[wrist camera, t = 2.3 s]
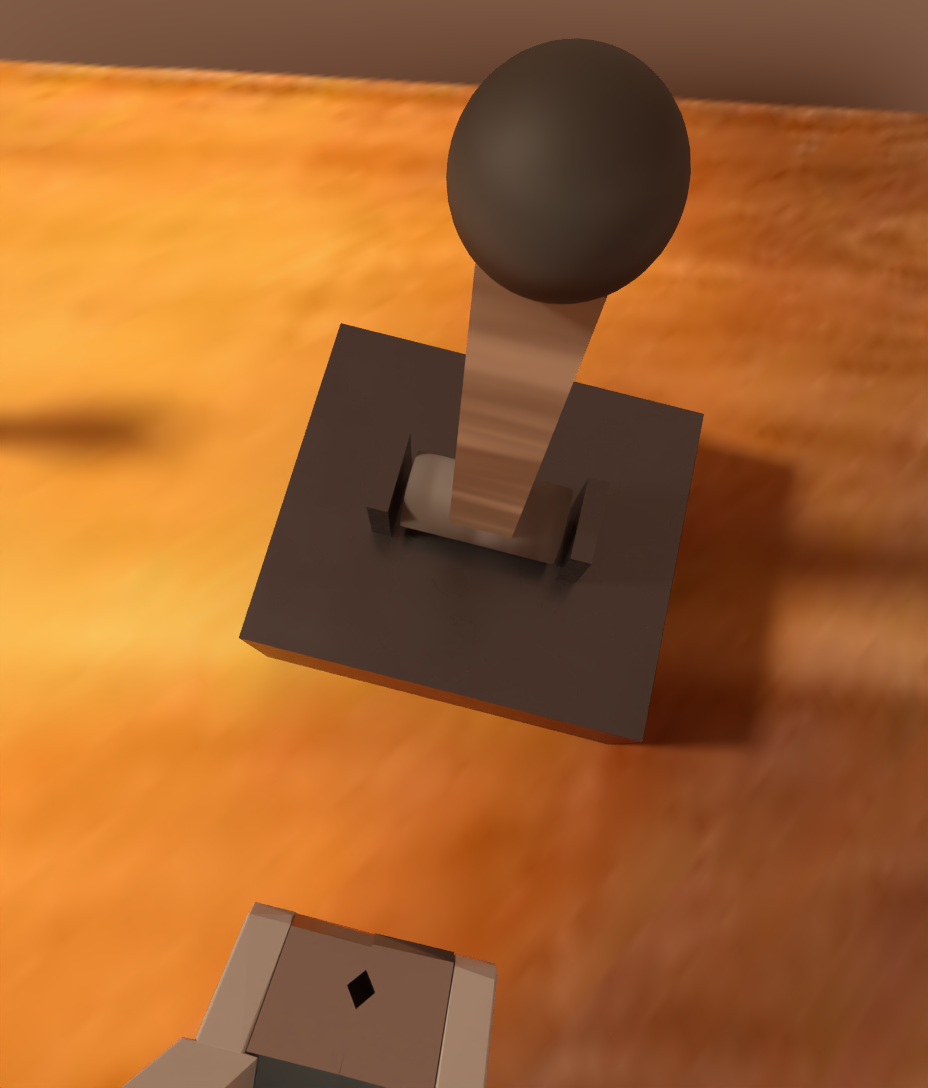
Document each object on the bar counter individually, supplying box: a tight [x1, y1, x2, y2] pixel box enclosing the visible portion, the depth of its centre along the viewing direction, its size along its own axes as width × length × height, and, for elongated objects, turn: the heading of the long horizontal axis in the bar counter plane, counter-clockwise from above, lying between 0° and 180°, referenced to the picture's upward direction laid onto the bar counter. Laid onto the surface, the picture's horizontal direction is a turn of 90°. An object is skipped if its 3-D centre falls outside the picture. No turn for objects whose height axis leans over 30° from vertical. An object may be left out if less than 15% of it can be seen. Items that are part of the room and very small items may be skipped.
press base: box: [239, 323, 704, 744], centre depth 35 cm, size 14×16×9 cm
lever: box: [400, 39, 691, 564], centre depth 22 cm, size 4×6×22 cm, turn 76°
